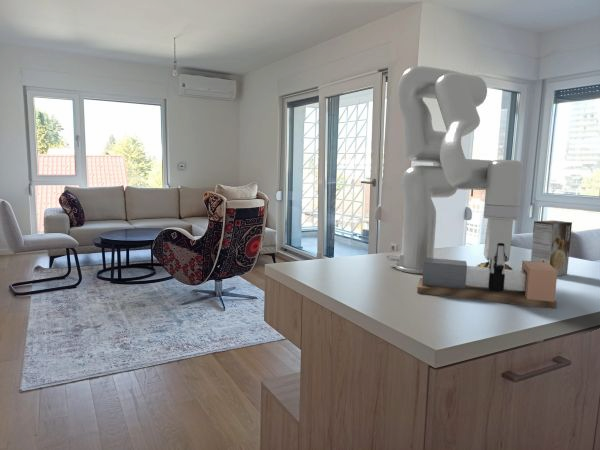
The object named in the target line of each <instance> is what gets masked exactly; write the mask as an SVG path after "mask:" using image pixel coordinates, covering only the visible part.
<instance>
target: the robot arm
mask: <svg viewBox="0 0 600 450" xmlns="http://www.w3.org/2000/svg"><path fill="white" fill-rule="evenodd" d="M487 94H488V87H487V83H486V82H485V80H484V79H483V78H482V77H480V76H479V75H478V76H477V75H473V74H469V73H463V72H459V71H455V70H450V69H443V68H438V67H437V68H436V67H432V66H425V65H423V66H422V65H421V66H420V65H419V66H418V65H417V66H412V67H410V68H408V69H406V70H405V71H404V72H403V74H402V75H401V76H400V79H399V82H398V85H397V102H398V106H399V110H400V113H401V117H402V119H401V121H402V130H403V132H402V133H403V144H404V152H405V157H406V158H407V159H408V160H409V161H412V162H418V163H432V165H421V164H420V165H413V166H411V167H409V168H408V169H406V170H405V171H404V172H403V175H402V179H401V188H402V194H403V195H402V197H403V222H402V239H401V252H400V253H397V254H393V253H392V254H391V253H387V254H386V260H387V261H390V262H396V264H395V269H396V270H398V271H401V272H404V273H410V274H419V275H420V274H421V275H423V265H424V259H425V258H435V257H434V255H435V240H436V227H437V225H436V224H437V209H436V206H435V203H434V201H433V200H432V198H438V199H439V198H440V199H441V198H449V197H450V198H451V197H452V196H453V195H455V194H456V193H457V192H458V190H466V191H468V190H470V191H471V190H473V191H474V190H475V191H485V196H484V207H483V209H484V211H483V219H487V223H486V229H485V239H484V248H483V250H484V251H483V256H484V258H485V260H487V262H488V261H490V262H489V268H491V273H490V276H489V290H495V291H503V290H504V279H505V274H504V271H505V264H506V263H508V262H509V261H510V255H511V247H512V239H513V238H512V237H513V227H514V226H513V225H514V224H513V223H514V221H518V220H519V217H520V205H521V195H522V183H523V173H524V171H523V170H524V165H523V163H522V162H521V160H520V161H519V160H516V159H515V160H514V159H510V160H509V159H495V160H489V159H488V160H487V159H474V158H472V159H471V158H466V156H465V154H464V150H463V146H462V137H465V136H466V135H469V134H471V133H472V132H474V131H475V130H477V128H478V127H479V126H480V123H481V118H480V116H479V113H478V109H477V107H479V106H481V105H482V104H483V103H484V101H485V100H486V98H487V96H488V95H487ZM424 98H427V99H434V100H436V101H437V104H438V107H439V110H440V114H441V118H442V120H443V123H444V127H445V130H446V131H440V130H439V131H438V130H437V131H436V130H435V129H434V128H433V121H432V117H433V116H432V113H431V110H430V108H429V107H428V105H427V104H426V102H425V101H424Z"/></svg>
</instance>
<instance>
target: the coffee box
mask: <svg viewBox="0 0 600 450" xmlns="http://www.w3.org/2000/svg"><path fill="white" fill-rule="evenodd" d="M572 225H573V222H572V221H571V222H570V221H562V220H535V221H533V227H532V229H533V231H532V241H531V252H530V253H531V254H530V261H535V262H547V263H549V264H550V265H551V266H552V267H553V268H555V269H556V270H557V271H558V272H557V277H559V276H565V275H568V270H569V257H570V248H571V238H572V227H573V226H572Z"/></svg>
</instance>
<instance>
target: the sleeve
mask: <svg viewBox="0 0 600 450" xmlns="http://www.w3.org/2000/svg"><path fill="white" fill-rule="evenodd" d="M467 266H468V265H467V260H458V259H457V260H456V259H448V258H446V259H445V258H437V257H434V258H425V259H424V265H423V274H422V278H423V281H422V286H431V287H441V288H450V289H459V290H465V286H466V273H467Z"/></svg>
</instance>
